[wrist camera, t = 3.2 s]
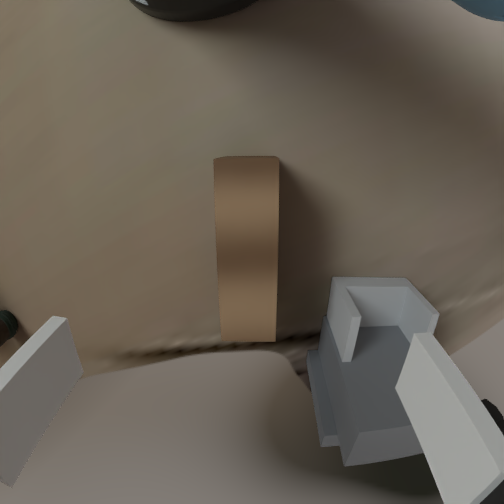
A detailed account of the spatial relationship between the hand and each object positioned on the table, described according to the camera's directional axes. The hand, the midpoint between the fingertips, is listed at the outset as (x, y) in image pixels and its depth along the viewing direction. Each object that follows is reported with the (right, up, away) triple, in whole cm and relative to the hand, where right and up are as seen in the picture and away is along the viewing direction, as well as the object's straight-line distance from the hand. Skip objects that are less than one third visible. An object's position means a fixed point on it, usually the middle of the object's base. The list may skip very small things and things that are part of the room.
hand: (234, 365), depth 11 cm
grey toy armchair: (+11, -3, +18) cm, 21 cm away
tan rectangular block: (+1, +5, +16) cm, 17 cm away
